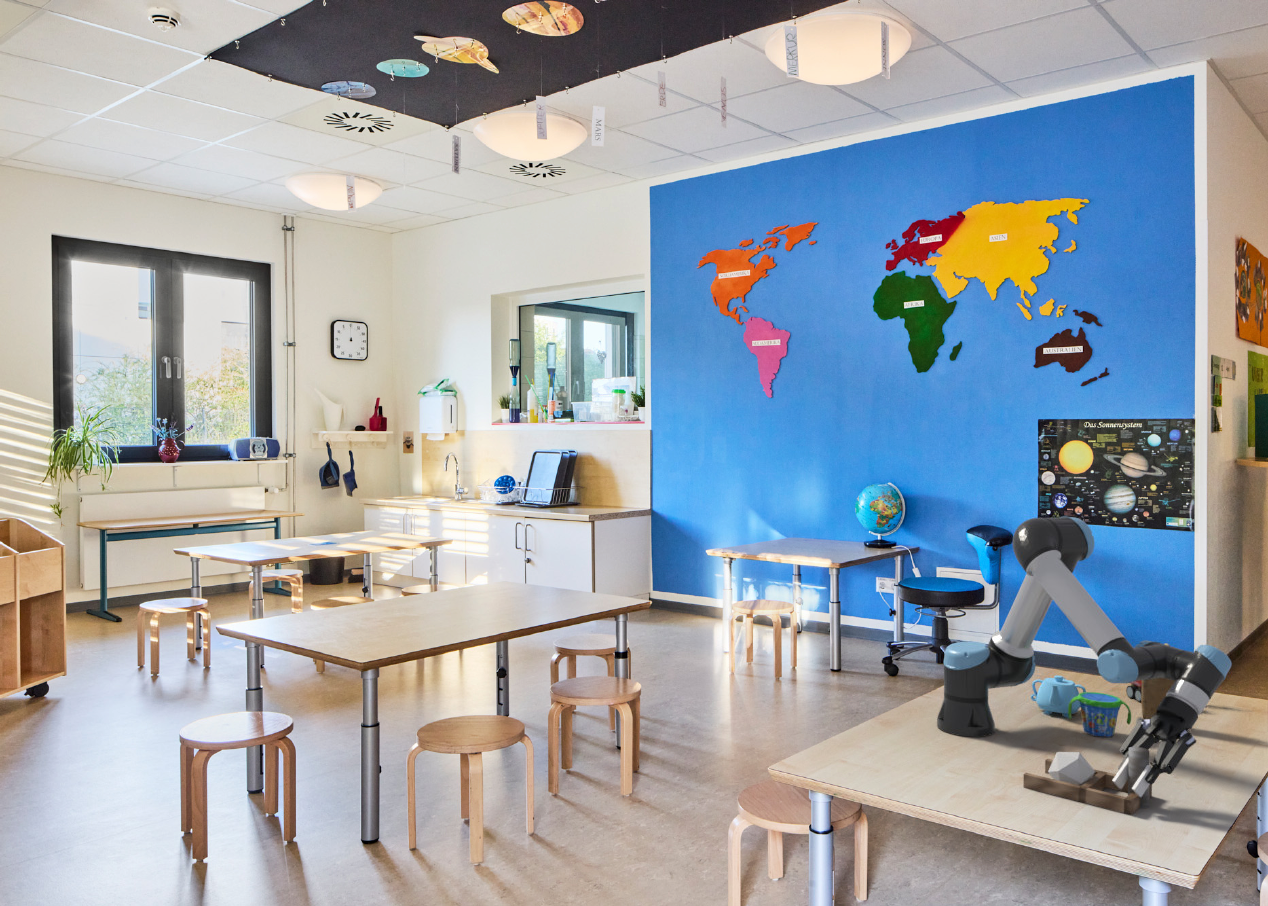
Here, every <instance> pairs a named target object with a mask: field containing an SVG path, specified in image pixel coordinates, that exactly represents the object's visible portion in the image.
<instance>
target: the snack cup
mask: <svg viewBox="0 0 1268 906" xmlns="http://www.w3.org/2000/svg"><path fill="white" fill-rule="evenodd" d="M1076 700H1078V701H1080V705H1081V707H1080V713H1081V721H1082V728H1083V732H1085V733H1086V734H1089V735H1091V736H1094V737H1107V738H1110V737H1112V736H1113V735H1114V734H1116V733H1115V732H1116V727H1117V726H1116V725H1117V720H1118V716H1119V712H1120V709H1121V706H1122V705H1124V706H1125V707H1126V709H1127V711H1128V712H1127V719H1126V724H1127V725H1130V724H1131V722H1132V711H1131V708H1130V706H1129V705H1128V704H1127V703H1126V702H1125V701H1123V700H1122V699H1121V698H1119V697H1118V696H1115V695H1112V694H1109V693H1103V692H1096V691H1095V692H1094V691H1088V692H1087V691H1086V692H1083V691H1082V692H1081V693H1080V692H1079V695H1078V696H1076V697H1074V698H1073V699H1072V700H1071V701H1070V703H1069V706H1068V714H1069V718H1068V719H1070V720H1072V719H1073V717H1072V714H1071V712H1072V703H1073V702H1075V701H1076Z"/></svg>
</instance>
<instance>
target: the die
mask: <svg viewBox="0 0 1268 906" xmlns="http://www.w3.org/2000/svg"><path fill="white" fill-rule="evenodd" d="M1052 760H1053V762H1052V764H1051V766H1050V768H1049V770H1048V773H1047V774H1049V776H1051V779H1054V780H1058V781H1062V782H1067V783H1071V784H1075V785H1079V786H1082V785H1083V784H1084V783H1086V782H1087V781H1088V780H1090V779H1091V778H1092V777H1093V775H1094V773H1095V771H1094V768H1093V767H1092V765H1090V763H1089V762H1088V761H1087V759H1086V758H1085V756H1083V754H1082V753H1081V752H1079V751H1077V752H1076V751H1057V752H1056V753H1055V756H1054V758H1053V759H1052Z"/></svg>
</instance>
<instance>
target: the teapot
mask: <svg viewBox="0 0 1268 906" xmlns="http://www.w3.org/2000/svg"><path fill="white" fill-rule="evenodd" d="M1036 683H1041V684H1040V686H1039V688H1038V690H1037V689H1036ZM1031 688H1032V690H1033V694H1031V695H1030V699H1031V700H1032V701H1033V702H1036V704H1037V706H1038V708H1039V709H1040V710H1043V714H1044V715H1046V716H1047V715H1048V716H1050V715H1052V713H1057V714H1058V713H1059V714H1062V717H1063V718H1066V717H1067V719H1070V718H1069V714H1068V706H1069V703H1070V701H1071V700H1072V699H1073V698H1074V697H1076V696H1078V695H1079V694H1080V692H1079V690H1078V688H1079V689H1081V690H1082V693H1083V692H1087V690H1086V687H1084V686H1083V685H1082V684H1076V683H1075V682H1074V680H1070V679H1066V678H1065V677H1064V676H1063V675H1054V676H1053V677H1046V678H1044V679H1035V680H1033V681H1032V684H1031ZM1080 709H1081V705H1080V701H1078V700H1076V701H1075V702H1073V703H1072V712H1071V715H1072V714H1075V713H1077V712H1078V711H1079V710H1080Z"/></svg>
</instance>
